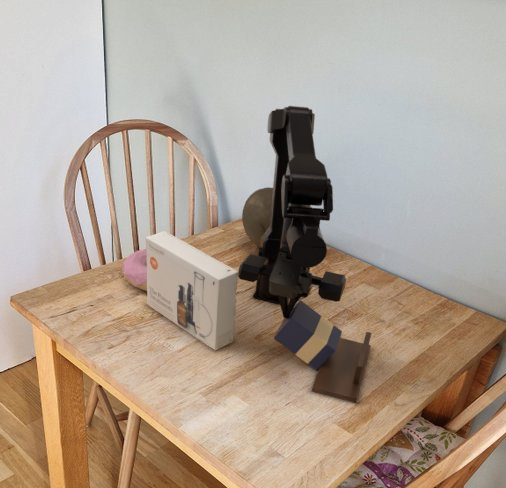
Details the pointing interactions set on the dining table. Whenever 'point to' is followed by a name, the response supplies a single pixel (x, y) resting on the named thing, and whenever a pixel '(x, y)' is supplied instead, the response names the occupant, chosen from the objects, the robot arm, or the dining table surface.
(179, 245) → the skincare box
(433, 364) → the dining table surface
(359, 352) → the walnut stand
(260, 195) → the cantaloupe
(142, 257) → the donut
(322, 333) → the tea box
